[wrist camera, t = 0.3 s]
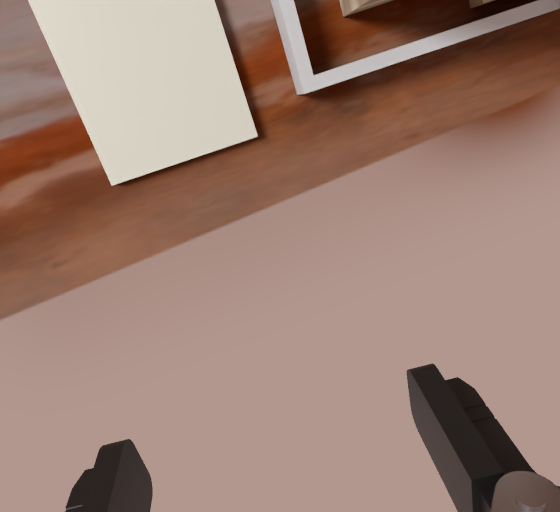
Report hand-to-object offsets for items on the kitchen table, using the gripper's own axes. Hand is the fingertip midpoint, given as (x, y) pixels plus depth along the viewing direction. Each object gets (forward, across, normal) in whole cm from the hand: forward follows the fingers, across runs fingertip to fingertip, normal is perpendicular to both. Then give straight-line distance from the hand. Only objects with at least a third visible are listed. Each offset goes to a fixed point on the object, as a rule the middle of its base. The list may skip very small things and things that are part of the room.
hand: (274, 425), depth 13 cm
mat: (+28, +5, -10) cm, 30 cm away
